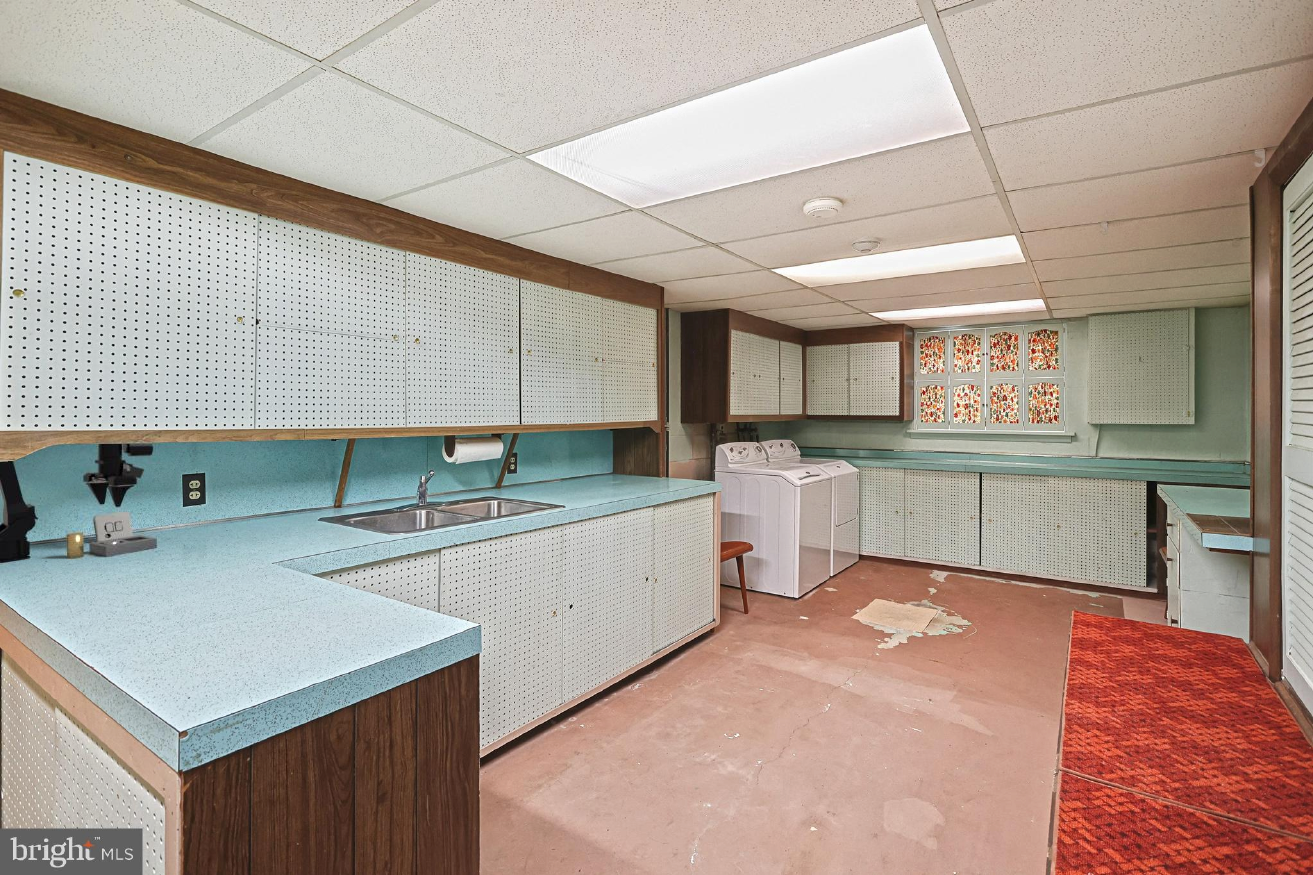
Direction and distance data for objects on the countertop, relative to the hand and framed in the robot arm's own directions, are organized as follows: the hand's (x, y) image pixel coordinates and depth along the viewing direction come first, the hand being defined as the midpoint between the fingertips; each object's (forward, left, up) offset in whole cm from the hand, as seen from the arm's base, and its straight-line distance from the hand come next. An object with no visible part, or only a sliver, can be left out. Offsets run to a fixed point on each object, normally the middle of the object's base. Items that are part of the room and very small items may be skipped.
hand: (109, 505), depth 197 cm
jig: (-1, -10, -13) cm, 17 cm away
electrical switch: (+4, +9, -13) cm, 16 cm away
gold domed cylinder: (-12, -8, -13) cm, 20 cm away
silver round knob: (-4, -10, -13) cm, 17 cm away
